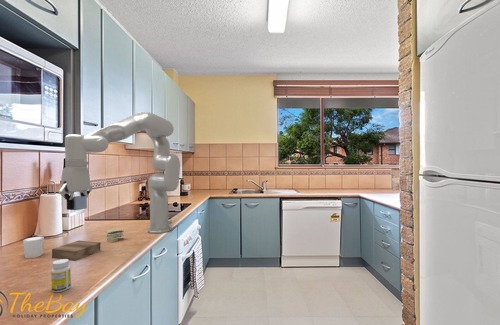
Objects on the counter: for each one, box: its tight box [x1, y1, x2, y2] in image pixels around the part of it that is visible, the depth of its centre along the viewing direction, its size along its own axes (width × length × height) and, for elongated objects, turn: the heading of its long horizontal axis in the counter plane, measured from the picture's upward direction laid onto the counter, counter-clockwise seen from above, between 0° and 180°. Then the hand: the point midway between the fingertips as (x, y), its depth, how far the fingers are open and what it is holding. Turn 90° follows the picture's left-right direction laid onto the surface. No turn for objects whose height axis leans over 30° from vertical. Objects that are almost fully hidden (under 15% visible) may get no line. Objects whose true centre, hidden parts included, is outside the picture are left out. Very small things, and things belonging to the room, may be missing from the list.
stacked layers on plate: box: [105, 227, 124, 243], centre depth 131 cm, size 10×9×6 cm
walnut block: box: [51, 240, 102, 262], centre depth 112 cm, size 12×12×4 cm
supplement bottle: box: [50, 259, 72, 293], centre depth 81 cm, size 5×5×8 cm
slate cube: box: [66, 195, 88, 211], centre depth 112 cm, size 5×5×5 cm
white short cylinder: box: [22, 236, 45, 259], centre depth 111 cm, size 7×7×7 cm
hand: (76, 207), depth 112 cm, fingers closed on slate cube, 5 cm apart
